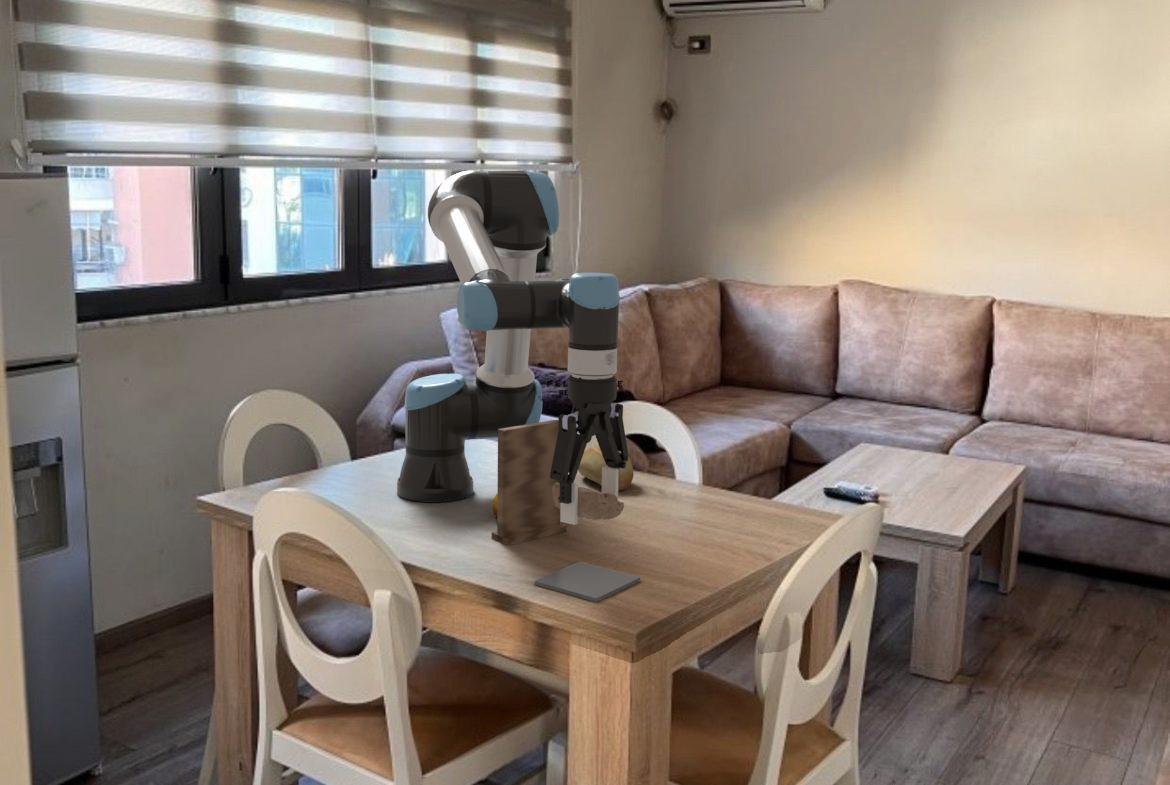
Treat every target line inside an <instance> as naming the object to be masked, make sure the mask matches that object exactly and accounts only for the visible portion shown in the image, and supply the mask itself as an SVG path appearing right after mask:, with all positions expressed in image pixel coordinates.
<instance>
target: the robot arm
mask: <svg viewBox="0 0 1170 785" xmlns="http://www.w3.org/2000/svg"><path fill="white" fill-rule="evenodd" d="M427 220H428V223H429V227H430V229H431V231H432V233H433V234H434V236H435V238H437V239H438V240H439V241H440V242H442V243H443V245H444V247H445V249H446V251H447V254H448V257H449V258H450V262H451V263H452V265H453V268H454V270H455V273H456V275H457V277H458V279H459V282H460V285H459V287H458V290H457V294H456V297H457V298H456V312H457V316H458V321H459V324H460V326H461V327H462V328H464V330H469V331H471V330H472V331H483V332H486V337H485V350H484V352H485V354H484V364H482V365H481V366H480V367H478V368H477V370H476V372H475V380H472V381H469V380H467V381H466V378H465V376H464V375H462V374H460V373H437V374H431V375H428V376H427V375H425V376H422V377H419V378H417V379H414V380H413V381H411V382H410V383H409V384H407V387H406V388H405V396H404V397H405V398H404V406H403V408H404V410H405V411H404V413H405V418H404V419H405V420H404V422H405V455H404V460H403V462H402V466H401V468H400V475H399V477H398V478H397V482H396V494H397V495H398V496H399V497H401V498H402V499H405V500H409V501H414V502H425V503H444V502H446V503H447V502H453V501H459V500H462V499H465V498H466V499H467V498H468V497H469V496H472V495H473V494H474V480H473V477H472V475H471V474H470V468H469V464H468V462H467V461H468V460H467V458H466V453H465V452H466V451H465V449H466V448H465V443H466V441H469V440H486V439H487V440H489V439H490V440H491V439H498V429H501V428H508V427H514V426H520V425H526V424H533V423H539V422H540V421H541V416H542V411H543V405H544V404H543V400H542V399H543V389H542V388H543V387H542V385H541V383H540V382H539V380H538V379H535V378H536V377H535V373H534V371H532V369H530V367H529V357H530V344H531V335H532V334H531V333H532V330H541V329H543V330H544V329H548V330H549V329H568V344H567V345H568V347H567V348H568V349H567V372H568V373H569V374H570V375H569V376H568V377H567V399H568V400H569V401H571V403H572V410H571V412H570V413H569V414H567V415H566V414H563V413H562V414H559V416H558V418H557V420H558V423H559V431H558V436H557V441H556V446H555V452H554V457H553V462H552V467H551V472H550V478H551V479H553V480H557V481H559V483H560V498H559V500H560V502H561V506H560V522H561V523H565V524H569V525H574V526H575V525H578V516H577V513H578V487H579V482H578V481H575V480H576V477H577V473H578V472H579V471H578V468H579V465H580V462H581V460H582V457H583V454H584V452H585V451H586V448H587V444H588V443H590V442H591V441H592V438H593V437H594V436H595V438H596V441H597V444H598V446H599V447H600V450H601V452H602V455H603V458H604V461H605V463H606V465H608V467H606V466H604V467H602V486H601V492H602V493H613V494H614V495H615V496H616V497H617V500H618V501H619V491H618V485H619V468H625V467H626V461H628V458H629V457H630V456H629V457H628V455H629V451H628V444H627V439H626V438H627V437H626V432H625V425H624V417H623V416H624V405H623V404H622V403H616V402H614V401H615V400H617V392H618V391H617V390H618V388H617V387H618V383H617V382H618V378H617V377H616V376H615V374H616V373H617V372H618V369H617V368H618V342H619V340H618V339H619V338H618V337H619V316H620V315H619V314H620V313H619V309H620V308H619V307H620V302H621V301H620V300H621V296H620V288H619V287H620V283H619V279H618V277H617V276H616V275H615V274H613V273H606V272H605V273H604V272H576V273H574V274H572V275H571V276H570V278H559V279H557V280H537V281H536V274H537V271H536V270H537V259H538V254H539V253H540V252H541V251H542V250H544V249H545V248H546V246H547V240H548V239H547V237H548V236H549V237H550V236H552V235H555V234H556V233H557V232H558V229H559V226H560V225H559V224H560V210H559V201H558V195H557V191H556V189H555V185H554V182H553V180H552V179H551V178H550V176H549V175H548V174H546V173H544V172H540V171H539V172H538V171H537V172H536V171H529V170H527V169H526V170H478V169H477V170H475V169H470V170H465V171H463V170H462V171H460V172H457V173H455V174H453V175H451V176H449V177H447V178H446V179H445V180H444V181H443V182H442V183H440V184H439V185H438V186H437V188H436V189H435V190H434V192H433V193H432V195H431V197H430V200H429V202H428V205H427ZM618 451H621V453H619V452H618ZM624 461H625V462H624ZM558 471H559V472H558Z"/></svg>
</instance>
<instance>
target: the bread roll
mask: <svg viewBox="0 0 1170 785" xmlns="http://www.w3.org/2000/svg"><path fill="white" fill-rule="evenodd" d="M618 452H619V453H621V451H618ZM628 457H629V458H628V461H626V467H625V468H619V485H618V492H619V491H620V490H621V491H624V490H626V489H627V488H629V487H630V486H631V483H632V482H633V479H634V476H635V474H634V468H633V463H632V460H631V458H630V455H629V454H628ZM624 462H625V461H624ZM604 466H606V467H608V465H606V463H605V461H604V458H603V455H602V452H601V450H600V447H599V445H597V446H596V445H595V446H593V447H590V448H588V449H585V451H584V454H583V457H582V460H581V462H580V465H579V468H578V471H577V472H578V473H579V474H580V475H581V476H583V477H584V478H586V479H588V480H590V481H592V482H594V483H596V484H598V485H599V486H601V487H602V467H604ZM621 491H620V492H621Z"/></svg>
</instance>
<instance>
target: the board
mask: <svg viewBox="0 0 1170 785" xmlns="http://www.w3.org/2000/svg"><path fill="white" fill-rule="evenodd" d="M558 431H559V423H558V419H553V420H552V419H551V420H546V421H541V422H540V421H539V423H533V424H526V425H520V426H514V427H508V428H501V429H498V438H497V493H498V494H497V493H496V494H497V522H496V524H497V526H496V530H495V531H493V532H491V539H493V540H496V541H498V542H500V543H502V544H505V545H506V546H511V545H515V544H520V543H524V542H529V541H532V540H536V539H541V538H545V537H548V536H553V535H557V534H560V533H566V532H567V525H565V524H562V522H560V509H559V508H557V507H556V506H555V502H554V499H553V494H552V488H553V486H554V485H555V483H559V481H557V480H553V479H551V478H550V472H551V467H552V462H553V457H554V452H555V446H556V441H557V436H558ZM558 472H559V471H558Z"/></svg>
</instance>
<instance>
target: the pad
mask: <svg viewBox="0 0 1170 785" xmlns="http://www.w3.org/2000/svg"><path fill="white" fill-rule="evenodd" d="M641 578H642V577H641V576H636V575H633V574H630V573H626V572H621V571H618V570H615V569H610V568H607V567H603V566H600V565H596V564H591V563H588V562H584V561H578V562H575V563H573V564H570V565H568V566H566V567H563V568H561V569H558V570H556V571H554V572H552V573H550V574H547V575H544V576H542V577H540V578H538V579H536V580H534V583H533V584H534V586H539V587H542V588H546V589H549V590H553V591H556V592H559V593H563V594H566V595H571V596H573V597H577V598H580V599H585V600H587V601H591V602H594V603H598V602H600V601H602V600H604V599H606V598H607V597H610V596H612V595H615V594H616V593H618V592H620V591H622V590H625V589H626V588H629V587H631V586H633V585H635V584H637V583H639V582H641Z"/></svg>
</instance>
